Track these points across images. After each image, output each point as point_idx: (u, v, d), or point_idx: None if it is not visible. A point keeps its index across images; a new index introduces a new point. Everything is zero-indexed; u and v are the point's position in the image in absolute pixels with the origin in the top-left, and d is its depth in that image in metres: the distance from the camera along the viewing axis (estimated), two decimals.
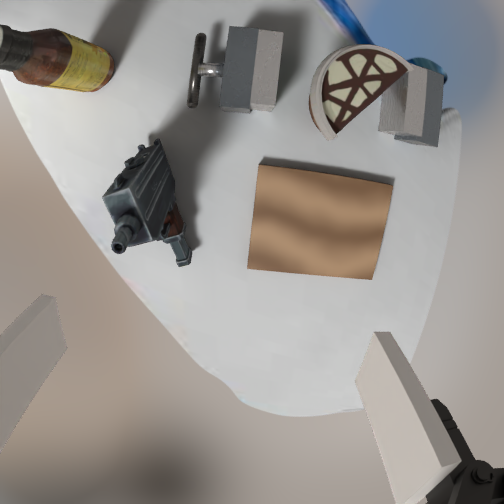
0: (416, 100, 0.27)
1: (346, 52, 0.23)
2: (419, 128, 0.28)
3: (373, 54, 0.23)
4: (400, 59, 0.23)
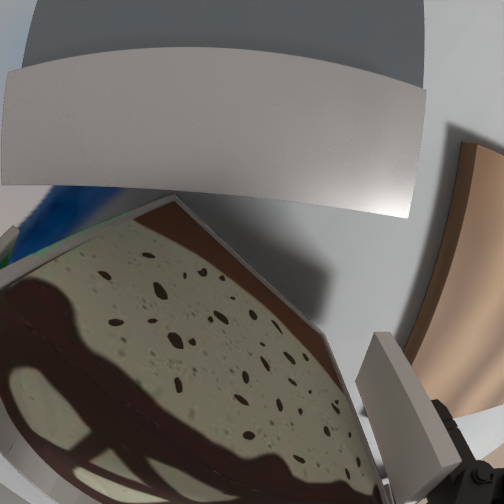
0: (192, 115, 0.04)
1: None
2: (383, 98, 0.04)
3: (42, 441, 0.05)
4: None
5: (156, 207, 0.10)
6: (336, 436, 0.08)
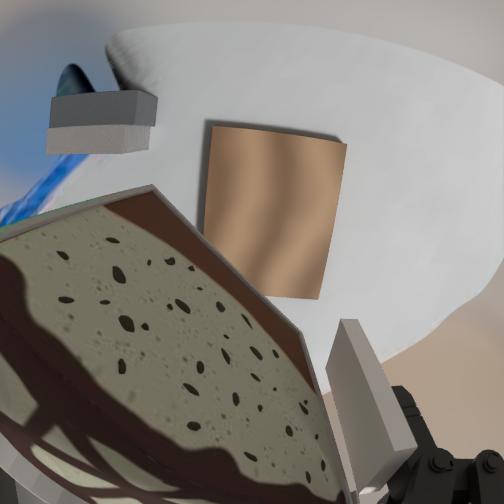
0: (83, 139, 0.22)
1: (55, 485, 0.05)
2: (114, 129, 0.22)
3: (1, 416, 0.04)
4: None
5: (130, 195, 0.10)
6: (300, 437, 0.08)
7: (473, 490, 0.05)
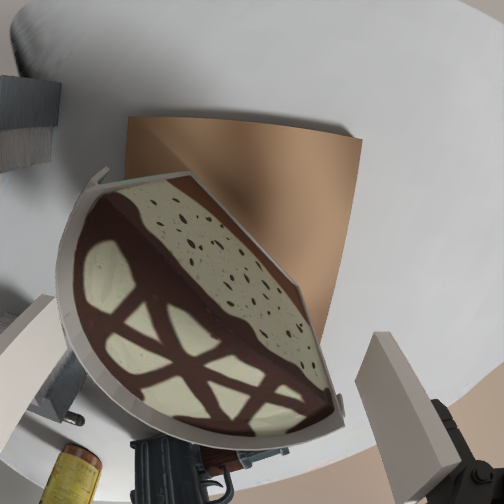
0: None
1: (114, 380, 0.10)
2: None
3: (91, 311, 0.09)
4: (71, 236, 0.08)
5: (179, 176, 0.14)
6: (296, 341, 0.12)
7: None
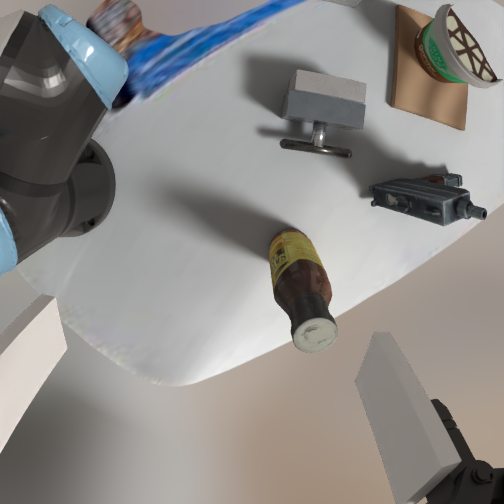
0: None
1: (452, 50, 0.24)
2: None
3: (447, 29, 0.23)
4: (448, 11, 0.22)
5: None
6: None
7: None
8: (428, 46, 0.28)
